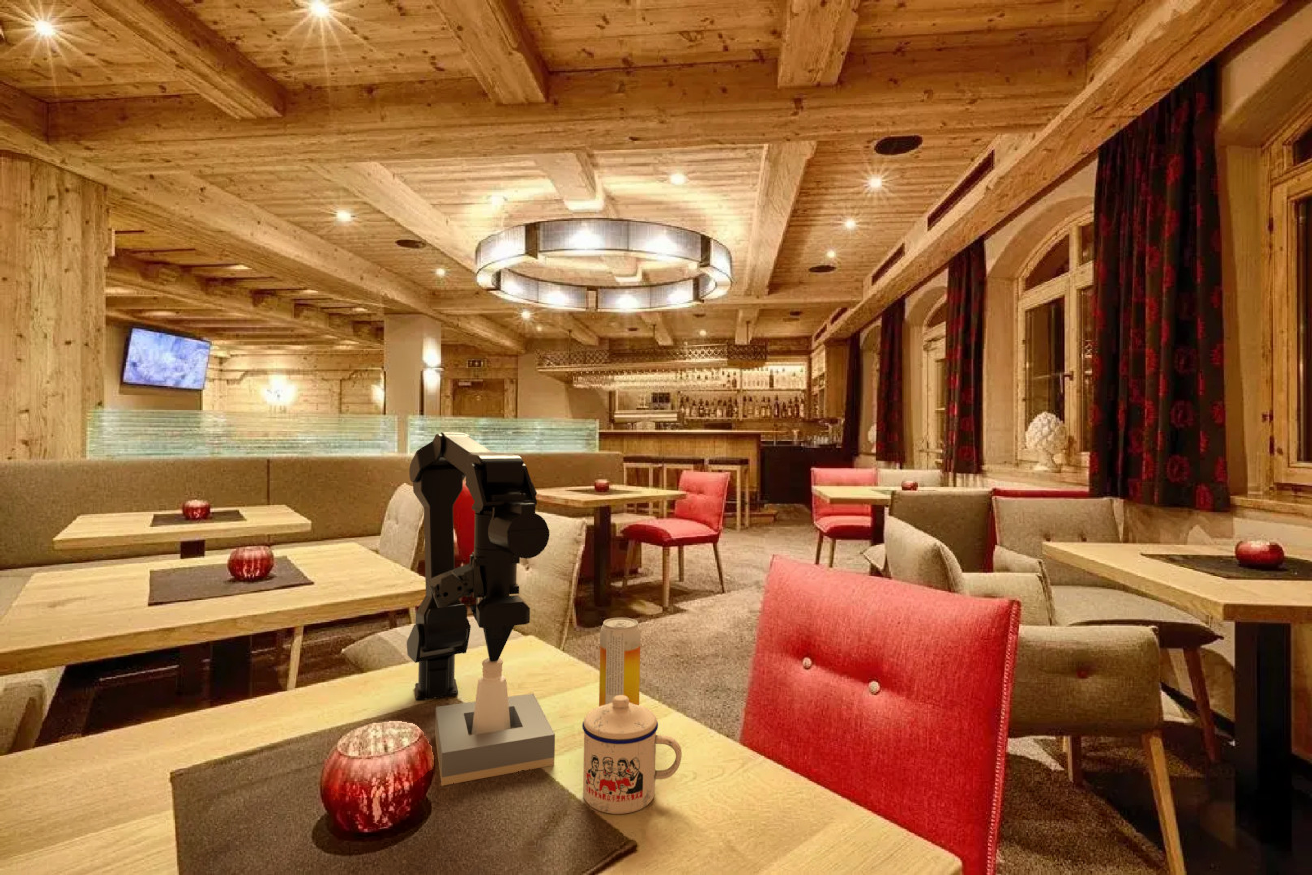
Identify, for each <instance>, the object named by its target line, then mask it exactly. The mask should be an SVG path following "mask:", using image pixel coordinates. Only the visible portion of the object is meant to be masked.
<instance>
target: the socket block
mask: <svg viewBox="0 0 1312 875" xmlns="http://www.w3.org/2000/svg"><path fill="white" fill-rule="evenodd" d="M508 704H509V716H510V727H511V729H507V730H501V731H495V732H488V733H482V734H476V735H471V734H472V726H473V718H474V710H475V701H468V702H461V703H455V704H447V705H446V704H445V705H441V706H440V705H439V706H435V729H434V732H435V733H434V735H435V737H434V738H435V743H436V752H437V760H438V768H439V776H440V778H439V779H440V785H441V786H442V787H443V786H447V785H448V786H449V785H453V783H454V784H459V783H464V782H469V781H475V780H480V779H485V778H490V777H491V778H492V777H497V776H502V775H508V774H513V773H517V772H518V771H519V772H522V771H521V770H524V771H529V769H530V770H535V769H540V768H545V767H550V766H555V759H556V758H555V755H556V752H555V751H556V750H555V749H556V747H555V744H556V734H555V732H554V730H553V728H552V726H551V724H550V722H549V720H548V718H547V717H546V714H545V713H544V710H543V709H542V707H541V705H540V703H539V701H538V699H537V697H536V695H535V693H534V692H533V693H528V694H527V693H526V694H520V695H512V696H508Z"/></svg>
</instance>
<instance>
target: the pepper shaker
mask: <svg viewBox="0 0 1312 875" xmlns="http://www.w3.org/2000/svg"><path fill="white" fill-rule="evenodd" d="M481 664H482V675H481V677H480V678H478V681H477V686H476V694H475V700H474V702H475V710H474V718H473V726H472V734H471V735H476V734H482V733H488V732H495V731H501V730H507V729H511V727H510V716H509V704H508V697H509V695H508V683H507V678H506V677H505V676H504V675H503V664H504V660H503V659H502V658H501V657H499V659H498V661H492V662H491V661H490V660H489V657H488V658H485V659H483V660H482V661H481Z"/></svg>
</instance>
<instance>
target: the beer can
mask: <svg viewBox="0 0 1312 875" xmlns="http://www.w3.org/2000/svg"><path fill="white" fill-rule="evenodd" d="M641 631H642V630H641V628H640V626H639V622H638V621H637V619H635V618H629V617H612V618H607V619H605V620H604V621H603V623H602V626H601V628H600V632H599V635H600V636H599V679H598V680H599V681H598V684H599V687H598V689H599V690H598V691H599V692H598V707H599V706H602V705H606V704H609V703H612V700H613V698H614V697H615V696H617V695H624V696H627V697H628V699H629V702H630V703H632V704H635V705H639V706H640V691H641V690H640V687H641V684H640V680H641V668H640V667H641Z"/></svg>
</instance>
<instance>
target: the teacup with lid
mask: <svg viewBox="0 0 1312 875" xmlns="http://www.w3.org/2000/svg"><path fill="white" fill-rule="evenodd" d="M658 728H659V722H658V720H657V716H656V715H655V714H654V712H653V711H652V710H650V709H649V708H648V707H644V706H642V705H640V704H639V705H635V704H632V703H630V702H629V699H628V697H627V696H624V695H617V696H615V697H614V698H613V700H612V703H609V704H606V705H602V706H599V705H598V706H596V707H595V708H593V709H591V710H590V711H589V712H587V713H586V715H585V717H584V718H583V721H582V730H583V735H584V736H583V780H582V781H583V786H582V787H583V788H582V794H583V797H584V801H585V802H586V803H587V804H588V805H589V806H590V807H591V808H593V809H595V810H597V811H600V812H602V813H607V814H613V815H620V814H621V815H623V814H630V813H633V812H638V811H640V810H641V809H644V808H645V807H647V806H648V805H649V804H650V803H651V802H652V801H653V798H654V797H655V792H656V791H655V790H656V780H665V779H668V778H671V777H672V776H673V775H674V774H676V772H677V771H678V769H679V768H680V765H681V762H682V748H681V745H680V743H679V742H678V741H677V740H676V739H675V738H673V737H671V736H669V735H664V734H663V735H661V734H657V730H658ZM657 744H658V745H666V746H668V747H670V748H672V749H673V751H674V754H675V759H674V761H673V763H672V764H671V766H669V767H668V768H666V769H662V770H656V754H657V753H656V748H657V747H656V745H657Z"/></svg>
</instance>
